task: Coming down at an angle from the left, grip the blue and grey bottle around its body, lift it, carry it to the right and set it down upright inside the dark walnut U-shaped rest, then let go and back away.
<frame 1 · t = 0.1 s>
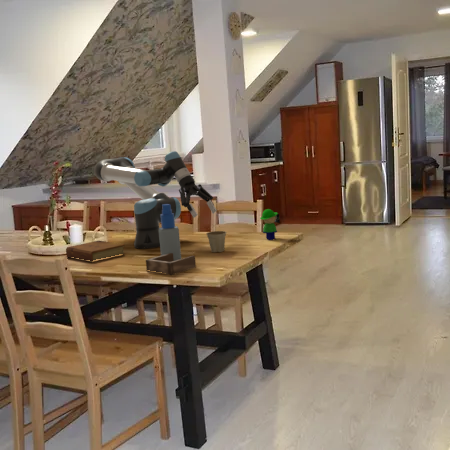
hand: (205, 214, 294), 15 cm above the table, tool tilted 35°, fingers open, 13 cm apart
diary: (96, 257, 291), on the table
blue and grey bottle: (171, 260, 269), on the table
toy: (270, 239, 299), on the table
rest: (171, 269, 250), on the table
flower pot: (217, 251, 280), on the table
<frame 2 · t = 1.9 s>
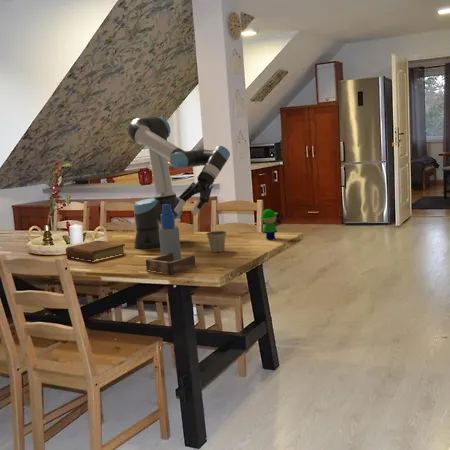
hand: (184, 213, 270), 20 cm above the table, tool tilted 45°, fingers open, 13 cm apart
nothing on the table moved.
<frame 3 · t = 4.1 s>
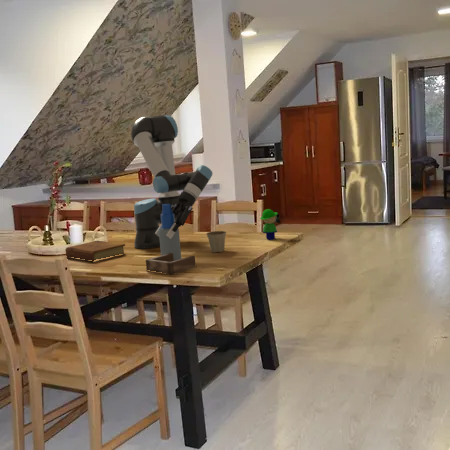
hand: (162, 236, 265), 11 cm above the table, tool tilted 45°, fingers closed on blue and grey bottle, 9 cm apart
blue and grey bottle: (171, 259, 269), on the table, touching gripper
everything else where it was.
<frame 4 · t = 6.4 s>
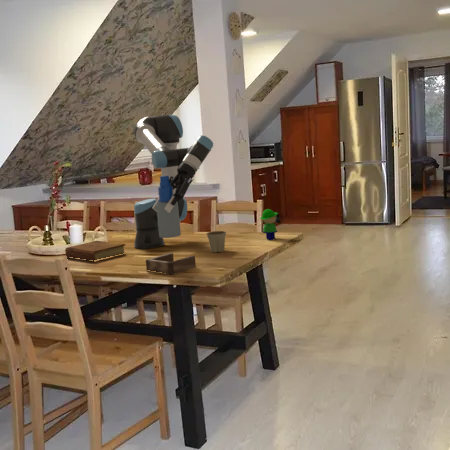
hand: (160, 210, 247), 25 cm above the table, tool tilted 45°, fingers closed on blue and grey bottle, 8 cm apart
blue and grey bottle: (170, 236, 251), point 13 cm above the table, touching gripper
everything else where it was.
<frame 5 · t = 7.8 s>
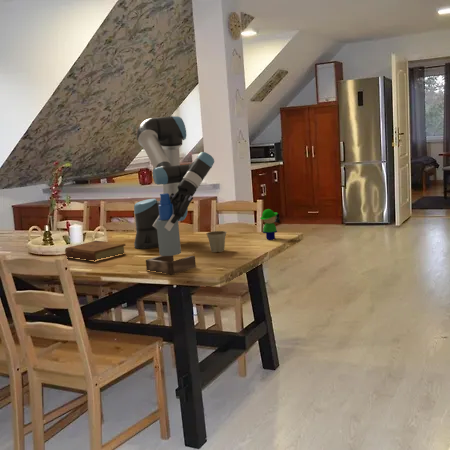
hand: (160, 228, 245), 18 cm above the table, tool tilted 45°, fingers closed on blue and grey bottle, 8 cm apart
blue and grey bottle: (170, 254, 249), point 7 cm above the table, touching gripper
everything else where it was.
when the fingers open (14 cm above the table, at t = 9.0 s): blue and grey bottle drops 1 cm, resting on rest.
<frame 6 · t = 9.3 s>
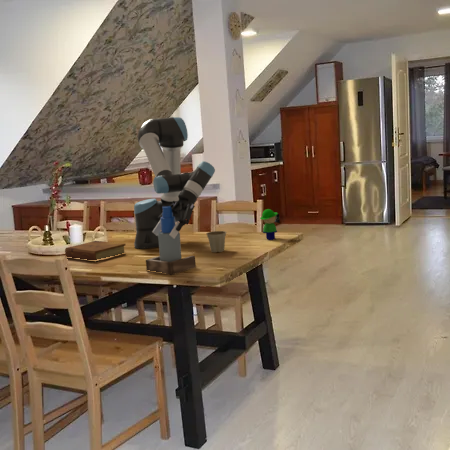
hand: (163, 235, 247), 15 cm above the table, tool tilted 45°, fingers open, 12 cm apart
blue and grey bottle: (171, 266, 250), point 1 cm above the table, touching rest
everything else where it was.
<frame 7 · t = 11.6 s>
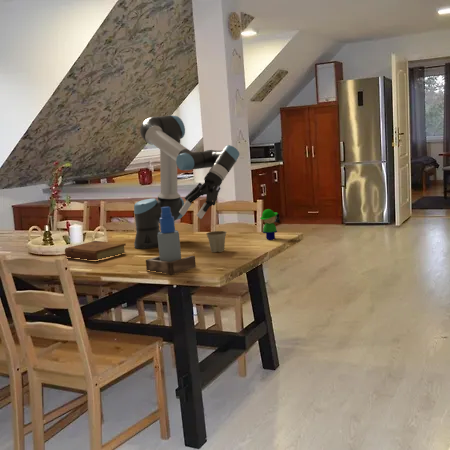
hand: (189, 215, 258), 20 cm above the table, tool tilted 45°, fingers open, 13 cm apart
nothing on the table moved.
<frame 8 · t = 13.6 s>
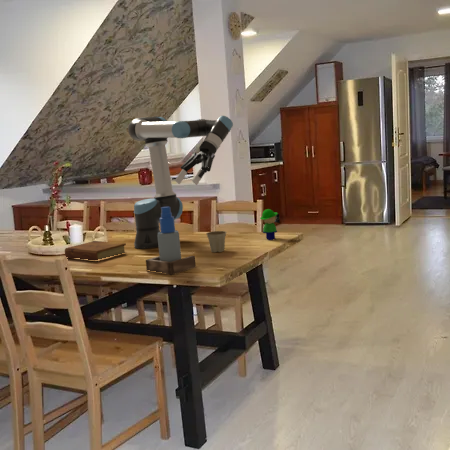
hand: (185, 182, 266), 34 cm above the table, tool tilted 45°, fingers open, 13 cm apart
at the end: blue and grey bottle inside the target area on the rest (0.4 cm from its centre), point 1.0 cm above the rest's base; blue and grey bottle tilted 0°; the gripper is holding nothing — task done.
